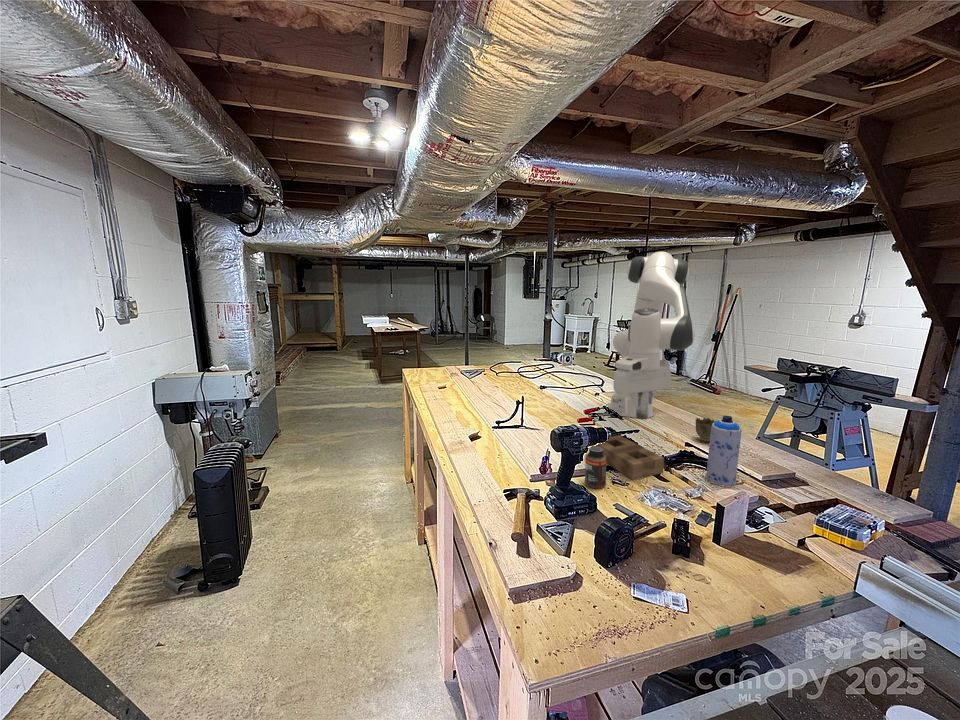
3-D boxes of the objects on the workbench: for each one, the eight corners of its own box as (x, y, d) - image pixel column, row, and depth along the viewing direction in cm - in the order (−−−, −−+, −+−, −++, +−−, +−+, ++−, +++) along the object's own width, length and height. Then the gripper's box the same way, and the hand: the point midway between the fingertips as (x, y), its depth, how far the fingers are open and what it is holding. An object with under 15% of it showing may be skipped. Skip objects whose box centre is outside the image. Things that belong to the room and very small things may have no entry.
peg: (633, 416, 121) (634, 389, 120) (641, 415, 122) (643, 388, 121) (641, 420, 118) (642, 391, 116) (650, 418, 119) (651, 390, 118)
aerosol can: (734, 477, 115) (742, 414, 112) (737, 489, 109) (745, 422, 105) (704, 471, 119) (711, 410, 115) (705, 483, 112) (712, 418, 108)
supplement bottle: (605, 481, 114) (607, 445, 112) (605, 491, 109) (607, 454, 107) (585, 478, 116) (586, 443, 114) (583, 487, 111) (585, 451, 109)
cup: (710, 437, 146) (712, 417, 144) (720, 445, 139) (722, 424, 137) (690, 436, 147) (692, 417, 145) (699, 444, 139) (701, 423, 138)
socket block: (591, 453, 133) (591, 440, 132) (618, 448, 137) (619, 435, 136) (632, 480, 115) (633, 464, 114) (663, 472, 119) (664, 457, 118)
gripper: (661, 357, 124) (659, 399, 126) (610, 362, 117) (609, 406, 119) (677, 360, 118) (675, 403, 120) (625, 365, 111) (623, 411, 113)
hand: (642, 405), depth 119 cm, fingers closed on peg, 4 cm apart
